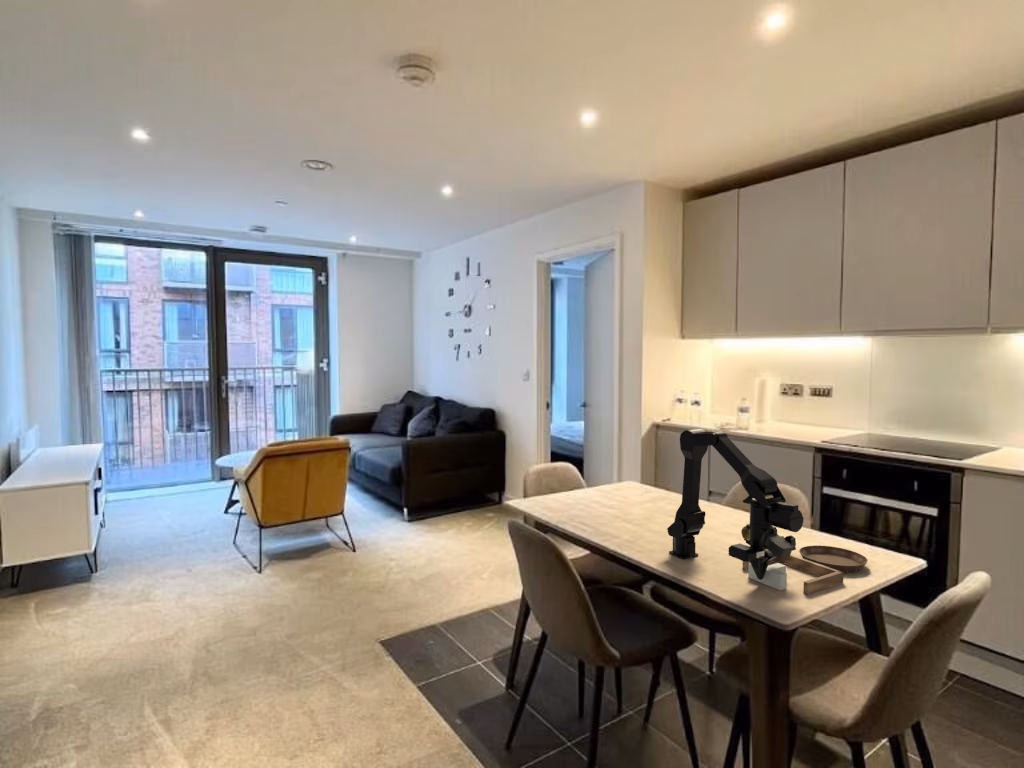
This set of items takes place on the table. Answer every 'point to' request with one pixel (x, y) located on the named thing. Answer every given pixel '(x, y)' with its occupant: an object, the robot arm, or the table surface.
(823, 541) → the table surface
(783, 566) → the t block
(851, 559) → the plant saucer
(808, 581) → the corral
